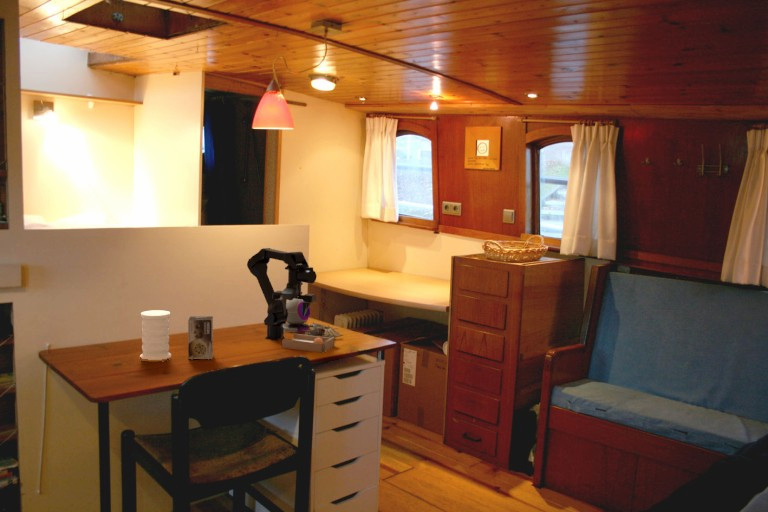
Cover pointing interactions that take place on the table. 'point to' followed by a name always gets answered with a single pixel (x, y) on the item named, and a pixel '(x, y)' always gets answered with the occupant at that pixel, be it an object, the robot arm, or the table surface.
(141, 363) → the table surface
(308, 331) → the figurine
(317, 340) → the ball
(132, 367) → the table surface
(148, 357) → the decorative container
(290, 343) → the shallow open tray
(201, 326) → the coffee box
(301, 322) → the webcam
